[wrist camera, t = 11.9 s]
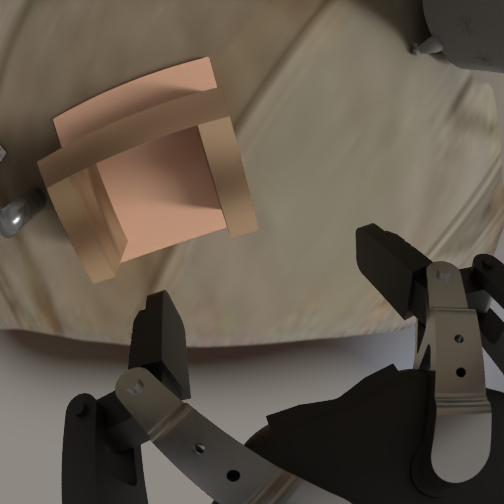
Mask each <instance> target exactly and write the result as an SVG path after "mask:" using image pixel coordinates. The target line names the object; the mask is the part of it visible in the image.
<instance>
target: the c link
mask: <svg viewBox="0 0 504 504" xmlns="http://www.w3.org/2000/svg"><path fill="white" fill-rule="evenodd" d="M194 126H197V130H198V133H199V137H200V140H201V144H202V147H203V150H204V154H205V157H206V161H207V164H208V168H209V171H210V174H211V178H212V181H213V184H214V188H215V191H216V194H217V198H218V201H219V204H220V208H221V211H222V214H223V217H224V219H225V222H226V225H227V228H228V231H229V234H230V236H231V239H232V238H235V237H238V236H241V235H244V234H247V233H251V232H254V231H257V230H259V228H258V224H257V220H256V216H255V212H254V208H253V204H252V200H251V197H250V193H249V189H248V185H247V181H246V177H245V173H244V169H243V165H242V161H241V157H240V154H239V150H238V146H237V142H236V138H235V134H234V130H233V127H232V123H231V119H230V115H229V111H228V108H227V104H226V100H225V96H224V93H223V89H222V86H221V87H217V88H213V89H209V90H205V91H202V92H198V93H195V94H191V95H188V96H185V97H181V98H178V99H175V100H172V101H169V102H166V103H163V104H160V105H157V106H154V107H152V108H149V109H146V110H143V111H141V112H138V113H136V114H133V115H131V116H128V117H126V118H123V119H121V120H118V121H116V122H114V123H111V124H109V125H107V126H105V127H102V128H100V129H98V130H96V131H94V132H92V133H90V134H88V135H86V136H84V137H81V138H80V139H78V140H76V141H74V142H72V143H70V144H68V145H66V146H64V147H62V148H60V149H59V150H57V151H55V152H53V153H52V154H50V155H48V156H46V157H45V158H43V159H41V160H40V161H38V162H37V165H38V167H39V170H40V173H41V176H42V178H43V181H44V183H45V186H46V188H47V191H48V193H49V196H50V198H51V201H52V203H53V205H54V208H55V210H56V212H57V214H58V217H59V219H60V221H61V223H62V225H63V227H64V229H65V231H66V234H67V236H68V238H69V240H70V242H71V244H72V246H73V247H74V249H75V251H76V253H77V255H78V257H79V259H80V261H81V263H82V264H83V266H84V268H85V270H86V272H87V273H88V275H89V277H90V279H91V280H92V282H93V284H96V283H99V282H102V281H105V280H107V279H110V278H113V277H115V276H116V273H117V270H118V267H119V264H120V262H121V259H122V256H123V253H124V250H125V248H126V245H127V242H128V240H127V238H126V236H125V233H124V231H123V229H122V227H121V225H120V222H119V220H118V218H117V215H116V213H115V211H114V208H113V206H112V203H111V201H110V199H109V196H108V194H107V191H106V189H105V186H104V183H103V181H102V178H101V176H100V173H99V170H98V167H97V165H96V163H98V162H101V161H103V160H105V159H107V158H110V157H112V156H114V155H117V154H119V153H121V152H124V151H126V150H129V149H131V148H134V147H136V146H139V145H141V144H144V143H147V142H149V141H152V140H155V139H158V138H160V137H163V136H166V135H169V134H172V133H175V132H178V131H181V130H184V129H187V128H190V127H194Z"/></svg>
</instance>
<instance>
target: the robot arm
mask: <svg viewBox="0 0 504 504" xmlns="http://www.w3.org/2000/svg"><path fill="white" fill-rule="evenodd" d="M356 259H357V264H358V267H359V270H360V271H361V273H362V274H363V275H364V276H365V277H366V278H367V279H368V280H369V281H370V282H371V283H372V285H373V286H374V287H375V288H376V289H377V290H378V291H379V292H380V293H381V294H382V295H383V297H384V298H385V299H386V300H387V301H388V302H389V303H390V304H391V305H392V307H393V308H394V309H395V310H396V311H397V312H398V313H399V314H400V316H401V317H402V318H403V319H404V320H406V319H408V318H410V317H412V316H415V317H416V318H417V319H416V324H415V328H416V329H415V354H414V364H413V369H406V370H400V371H398V370H397V369H396V367H395V366H394V364H391V365H389V366H387V367H386V368H383V369H381V370H379V371H377V372H375V373H373V374H371V375H369V376H367V377H365V378H364V379H363V380H361V381H360V382H359V383H358V384H356V385H355V386H354V387H352V388H351V389H350V390H349V391H347V392H346V393H344V394H343V395H342V396H340V397H339V398H337V399H334V400H328V401H322V402H316V403H309V404H302V405H298V406H295V407H292V408H289V409H286V410H283V411H280V412H277V413H274V414H271V415H268V416H266V418H267V421H268V425H267V426H265V427H263V428H262V429H260V430H259V431H258V432H256V433H255V434H254V435H253V436H252V437H251V438H249V440H248V441H247V442H246V443H245V444H244V445H243V444H241V443H240V442H238V441H237V440H235V439H234V438H232V437H231V436H230V435H228V434H227V433H225V432H224V431H222V430H221V429H220V428H218V427H217V426H216V425H215V424H213V423H212V422H211V421H209V420H208V419H207V418H205V417H204V416H203V415H202V414H200V413H199V412H198V411H197V410H195V409H194V408H193V407H192V406H190V405H189V404H187V403H184V402H182V400H185V399H190V398H191V394H190V385H189V374H188V364H187V352H186V339H185V329H184V325H183V322H182V320H181V317H180V315H179V314H178V312H177V310H176V308H175V306H174V304H173V302H172V300H171V298H170V296H169V294H168V293H167V291H166V290H163V291H160V292H157V293H153V294H150V295H148V296H147V301H146V309H144V310H141V311H139V313H138V315H137V316H136V318H135V320H134V323H133V330H132V331H133V333H132V338H131V339H132V341H131V346H130V355H129V365H128V371H126V372H124V373H123V374H122V375H121V376H120V378H119V379H118V381H117V383H116V386H115V391H113V392H112V393H109V394H108V395H106V396H104V397H102V398H100V399H98V400H96V399H95V398H94V397H93V396H92V395H90V394H87V393H83V394H79V395H77V396H76V397H74V398H73V399H72V400H71V402H70V403H69V405H68V407H67V410H66V417H65V427H64V436H63V452H62V504H148V499H147V493H146V487H145V480H144V472H143V464H142V455H141V444H143V443H145V442H147V441H149V440H151V441H152V443H153V444H154V445H155V446H156V447H157V448H158V449H159V450H160V451H161V452H162V453H163V454H164V455H165V456H166V457H167V458H168V459H169V460H170V461H171V462H172V463H173V464H174V465H175V466H176V467H177V468H178V469H179V470H180V471H181V472H182V473H183V474H184V475H186V476H187V477H188V478H189V479H190V480H191V481H192V482H193V483H195V484H196V485H197V486H198V487H199V488H200V489H201V490H203V491H204V492H205V493H206V494H207V495H209V496H210V497H211V498H212V499H214V501H213V502H212V504H504V393H503V392H500V391H496V390H492V389H488V388H486V386H485V371H484V360H483V351H482V347H483V348H484V350H485V351H486V352H487V353H488V354H489V356H490V357H491V358H492V360H493V361H494V362H495V364H496V365H497V366H498V367H499V369H500V370H501V372H502V373H503V374H504V322H503V321H502V320H501V319H500V318H499V317H498V316H497V315H496V313H495V312H493V310H492V309H491V308H490V304H491V302H492V299H494V300H495V301H496V302H497V303H499V305H500V306H501V307H502V308H503V309H504V264H503V263H502V262H500V261H499V260H498V259H496V258H495V257H493V256H491V255H488V254H479V255H477V256H475V257H474V259H473V263H472V267H469V268H464V269H458V268H457V267H456V266H454V265H453V264H451V263H448V262H444V261H437V262H432V261H431V260H430V259H428V258H427V257H426V256H425V255H423V254H422V253H421V252H419V251H418V250H417V249H416V248H414V247H412V246H411V245H410V244H409V243H408V242H405V240H404V239H402V238H401V237H400V236H398V235H397V234H394V233H391V232H389V231H384V230H382V229H381V228H380V227H378V226H377V225H376V224H374V223H372V224H369V225H366V226H363V227H360V228H357V230H356Z"/></svg>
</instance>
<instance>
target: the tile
mask: <svg viewBox="0 0 504 504" xmlns="http://www.w3.org/2000/svg"><path fill="white" fill-rule="evenodd" d="M213 88H217V86H216V82H215V78H214V75H213V71H212V67H211V64H210V60H209V57H206V58H202V59H198V60H194V61H191V62H187V63H184V64H180V65H177V66H173V67H170V68H167V69H164V70H161V71H158V72H155V73H152V74H149V75H146V76H144V77H141V78H138V79H136V80H133V81H131V82H128V83H126V84H123V85H121V86H118V87H116V88H114V89H111V90H109V91H107V92H104V93H102V94H100V95H98V96H96V97H94V98H92V99H90V100H88V101H86V102H84V103H82V104H80V105H78V106H76V107H74V108H72V109H70V110H68V111H66V112H65V113H63V114H61V115H59V116H57V117H56V118H54V119H53V121H54V124H55V128H56V131H57V134H58V137H59V140H60V144H61V147H64V146H66V145H68V144H70V143H72V142H74V141H76V140H78V139H80V138H81V137H84V136H86V135H88V134H90V133H92V132H94V131H96V130H98V129H100V128H102V127H105V126H107V125H109V124H111V123H114V122H116V121H118V120H121V119H123V118H126V117H128V116H131V115H133V114H136V113H138V112H141V111H143V110H146V109H149V108H152V107H154V106H157V105H160V104H163V103H166V102H169V101H172V100H175V99H178V98H181V97H185V96H188V95H191V94H195V93H198V92H202V91H205V90H209V89H213ZM96 165H97V167H98V170H99V173H100V176H101V178H102V181H103V183H104V186H105V189H106V191H107V194H108V196H109V199H110V201H111V203H112V206H113V208H114V211H115V213H116V215H117V218H118V220H119V222H120V225H121V227H122V229H123V231H124V233H125V236H126V238H127V240H128V242H127V245H126V248H125V250H124V253H123V256H122V259H121V262H124V261H127V260H130V259H133V258H136V257H138V256H141V255H144V254H147V253H150V252H153V251H156V250H159V249H162V248H165V247H168V246H171V245H174V244H177V243H180V242H183V241H186V240H189V239H192V238H195V237H198V236H201V235H204V234H207V233H210V232H214V231H217V230H220V229H223V228H226V227H227V225H226V222H225V219H224V217H223V214H222V211H221V208H220V204H219V201H218V198H217V194H216V191H215V188H214V184H213V181H212V178H211V174H210V171H209V168H208V164H207V161H206V157H205V154H204V150H203V147H202V144H201V140H200V137H199V133H198V130H197V126H194V127H190V128H187V129H184V130H181V131H178V132H175V133H172V134H169V135H166V136H163V137H160V138H158V139H155V140H152V141H149V142H147V143H144V144H141V145H139V146H136V147H134V148H131V149H129V150H126V151H124V152H121V153H119V154H117V155H114V156H112V157H110V158H107V159H105V160H103V161H101V162H98V163H96ZM121 262H120V263H121Z"/></svg>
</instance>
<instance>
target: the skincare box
mask: <svg viewBox="0 0 504 504" xmlns="http://www.w3.org/2000/svg"><path fill="white" fill-rule="evenodd" d="M5 155H6V152H5V150H4V149H3V148H2V147H1V145H0V162H1V161H2V159H3V158H4V156H5Z"/></svg>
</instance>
